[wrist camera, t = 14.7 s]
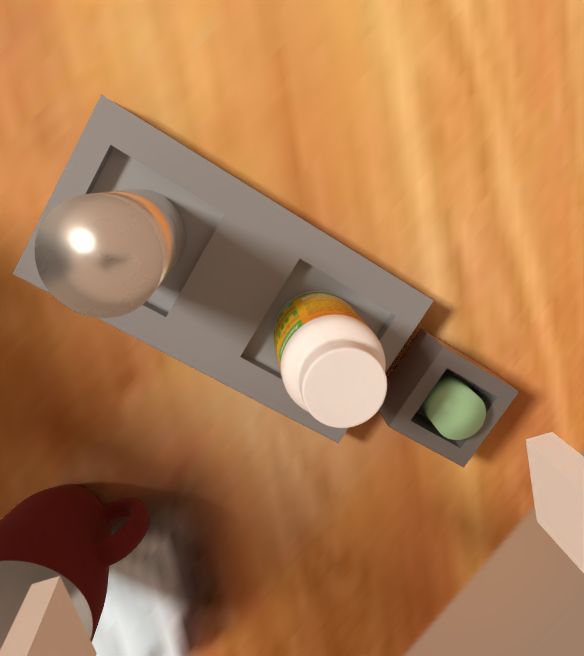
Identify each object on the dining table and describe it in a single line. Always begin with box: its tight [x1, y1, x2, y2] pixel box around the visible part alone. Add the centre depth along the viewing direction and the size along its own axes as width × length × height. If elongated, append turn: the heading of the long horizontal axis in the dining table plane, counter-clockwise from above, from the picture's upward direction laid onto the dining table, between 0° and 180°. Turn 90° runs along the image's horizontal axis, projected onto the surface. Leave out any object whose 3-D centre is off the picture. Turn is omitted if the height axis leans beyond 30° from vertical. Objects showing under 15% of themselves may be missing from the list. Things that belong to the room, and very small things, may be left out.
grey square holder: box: [379, 329, 519, 467], centre depth 35 cm, size 6×6×4 cm
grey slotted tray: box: [13, 95, 434, 443], centre depth 33 cm, size 22×11×2 cm, turn 59°
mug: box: [0, 485, 150, 650], centre depth 32 cm, size 10×8×10 cm
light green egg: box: [420, 370, 486, 440], centre depth 34 cm, size 3×3×4 cm
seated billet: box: [34, 189, 186, 318], centre depth 26 cm, size 5×5×10 cm
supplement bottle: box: [273, 291, 387, 428], centre depth 29 cm, size 5×5×10 cm
